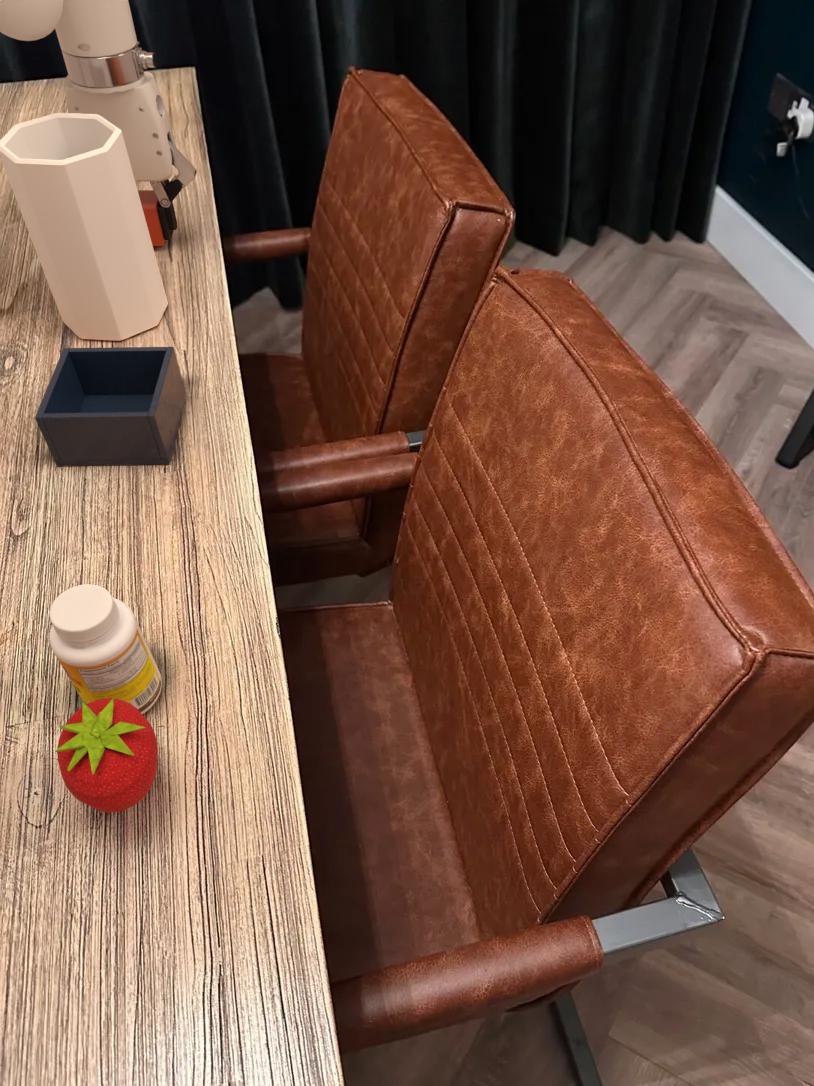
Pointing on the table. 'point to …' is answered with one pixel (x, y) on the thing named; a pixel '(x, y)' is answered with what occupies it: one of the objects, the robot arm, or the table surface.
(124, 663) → the supplement bottle
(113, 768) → the strawberry
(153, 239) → the red block
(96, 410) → the navy tray box
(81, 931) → the table surface
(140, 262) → the cup
